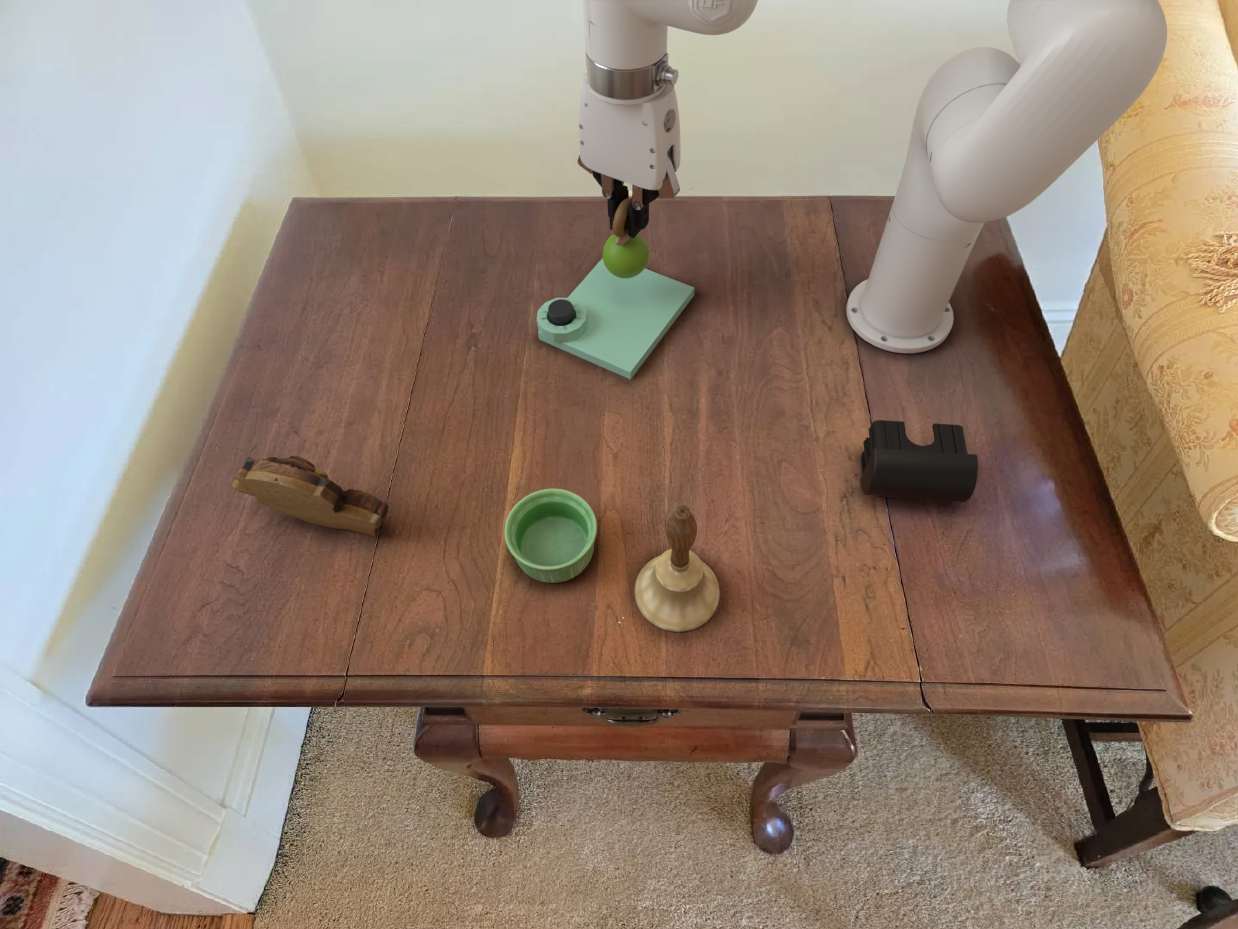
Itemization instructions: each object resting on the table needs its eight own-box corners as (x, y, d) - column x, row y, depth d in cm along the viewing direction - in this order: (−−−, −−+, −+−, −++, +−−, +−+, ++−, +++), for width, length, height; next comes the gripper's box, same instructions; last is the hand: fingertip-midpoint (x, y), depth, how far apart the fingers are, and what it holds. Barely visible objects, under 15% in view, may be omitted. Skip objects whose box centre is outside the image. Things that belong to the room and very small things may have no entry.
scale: (600, 259, 103) (599, 241, 100) (694, 295, 98) (695, 277, 96) (530, 339, 95) (527, 321, 92) (628, 382, 91) (628, 365, 88)
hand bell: (713, 639, 73) (729, 563, 60) (627, 623, 74) (623, 545, 61) (724, 561, 77) (741, 474, 64) (643, 547, 78) (643, 459, 65)
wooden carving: (406, 511, 82) (379, 458, 73) (390, 549, 79) (361, 498, 71) (263, 486, 84) (221, 431, 75) (243, 522, 81) (197, 470, 73)
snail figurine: (658, 259, 95) (663, 175, 84) (636, 293, 91) (639, 210, 81) (617, 246, 96) (618, 161, 86) (595, 279, 93) (593, 195, 82)
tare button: (558, 305, 94) (557, 295, 93) (579, 313, 93) (578, 304, 92) (544, 320, 93) (543, 311, 92) (565, 329, 92) (564, 320, 91)
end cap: (860, 509, 80) (876, 473, 75) (855, 453, 84) (870, 415, 79) (959, 516, 80) (983, 481, 74) (949, 459, 84) (971, 421, 78)
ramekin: (515, 509, 81) (509, 487, 78) (601, 511, 81) (599, 488, 77) (505, 588, 76) (498, 568, 73) (596, 590, 76) (594, 570, 72)
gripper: (719, 70, 72) (705, 230, 88) (577, 29, 77) (587, 187, 92) (681, 111, 69) (673, 270, 84) (534, 65, 74) (552, 223, 89)
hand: (628, 225), depth 88 cm, fingers closed on snail figurine
